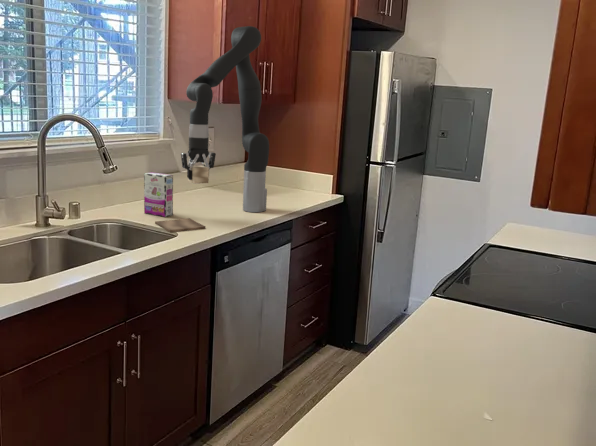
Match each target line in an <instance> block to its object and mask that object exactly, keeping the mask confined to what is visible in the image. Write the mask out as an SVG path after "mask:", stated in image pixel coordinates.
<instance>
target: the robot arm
mask: <svg viewBox="0 0 596 446" xmlns="http://www.w3.org/2000/svg"><path fill="white" fill-rule="evenodd" d="M230 36H231V37H230V42H231V48H230V49H229V50H227V52H225V53H223V54H222V55H221V56H219V57H218V58H216V60H214V61H213V62H212V63H211V64H210V66H209V67H208V68H206V70H205V71H204V72H203V73H202V74H200V75H199V76H197V77H196V78H195V79H193V80H191V82H190V83H189V84H188V85H187V87H186V91H185V92H186V97H187V98H188V100H190V101H192V102H196V104H195V107H193V108H191V109H190V111H189V127H188V151H187V152H181V153H180V158H181V166H182V169H185V170H187V171H186V173H187V174H186V176H187V180H188V179H189V180H192V168H193V166H196V163H201V164H202V166H205V167H208V168H209V170H210V169H213V168H214V167H215V161H216V153H215V152H213V151H211V152H210V151H209V142H210V141H209V139H210V133H209V132H210V131H209V113H210V109H211V106H212V101H213V97H214V96H213V95H214V94H213V93H214V92H213V89H212V88H216V87H217V86H219V85H220V84H221V83H222V82H223V81H224V79H225V78H226V77H227V76H228V75H229V74H230V73H231V71H232V70H234V68H235V71H236V77H237V79H236V80H237V89H238V98H239V107H240V115H241V116H240V117H241V142H242V143H241V144H242V147H243V149H244V151H245V152H246V153H248V157H247V161H246V162H244V166H243V188H242V189H243V192H242V193H243V194H242V210H243V212H244V211H245V212H248V213H261V212H264V211H267V200H268V198H267V196H268V189H267V188H266V180H267V179H266V178H267V177H266V176H267V175H266V174H267V167H268V165H269V158H270V157H269V155H270V140H269V138H268V136H267V135H265V134H264V133H261V132H260V126H259V125H260V124H259V116H260V111H261V106H262V98H263V97H262V89H261V81H260V80H259V76H258V74H256V72H255V70H254V68H253V65H252V62H251V58H250V57H251V56H250V54H251V53H253V52H254V51H255V50H256V49H257V48H258V47H259V46H260V44H261V41H262V34H261V31H260V30H259V29H258V28H257V27H255V26H252V25H248V26H247V25H246V26H245V25H244V26H238V27H236V28H234V29H233V30H232V32H231V35H230ZM188 157H189V160H188Z"/></svg>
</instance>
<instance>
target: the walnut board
mask: <svg viewBox="0 0 596 446" xmlns="http://www.w3.org/2000/svg"><path fill="white" fill-rule="evenodd" d="M154 224H155V225H157V226H158V227H160V228H162V229H164V230H165V231H167V232H169V233H175V232H185V231H194V230H195V231H196V230H204V229H205V230H206V226H205V225H204V224H201V223H199V222H197V221H195V220H193V219H192V218H189V217H188V218H180V219H178V218H177V219H169V220H168V219H167V220H158V221H154Z"/></svg>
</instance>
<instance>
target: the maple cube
mask: <svg viewBox="0 0 596 446" xmlns="http://www.w3.org/2000/svg"><path fill="white" fill-rule="evenodd" d="M209 178H210V169H209V168H208V167H205V166H203V165H194V166H193V168H192V180H189V179H188V178H187V182H189V183H190V184H196V185H197V184H200V185H201V184H209V182H210V181H209Z"/></svg>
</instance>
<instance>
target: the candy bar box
mask: <svg viewBox="0 0 596 446" xmlns="http://www.w3.org/2000/svg"><path fill="white" fill-rule="evenodd" d="M143 182H144V183H143V189H144V190H143V194H144V195H143V196H144V197H143V198H144V199H143V200H144V201H143V202H144V203H143V204H144V208H143V209H144V210H143V211H144V214H146V215H152V216H156V217H157V216H158V217H164V218H168V217H171V216H173V215H174V175H172V174H167V173H160V172H159V173H158V172H154V171H153V172H152V171H151V172H145V173H144V174H143Z"/></svg>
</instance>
